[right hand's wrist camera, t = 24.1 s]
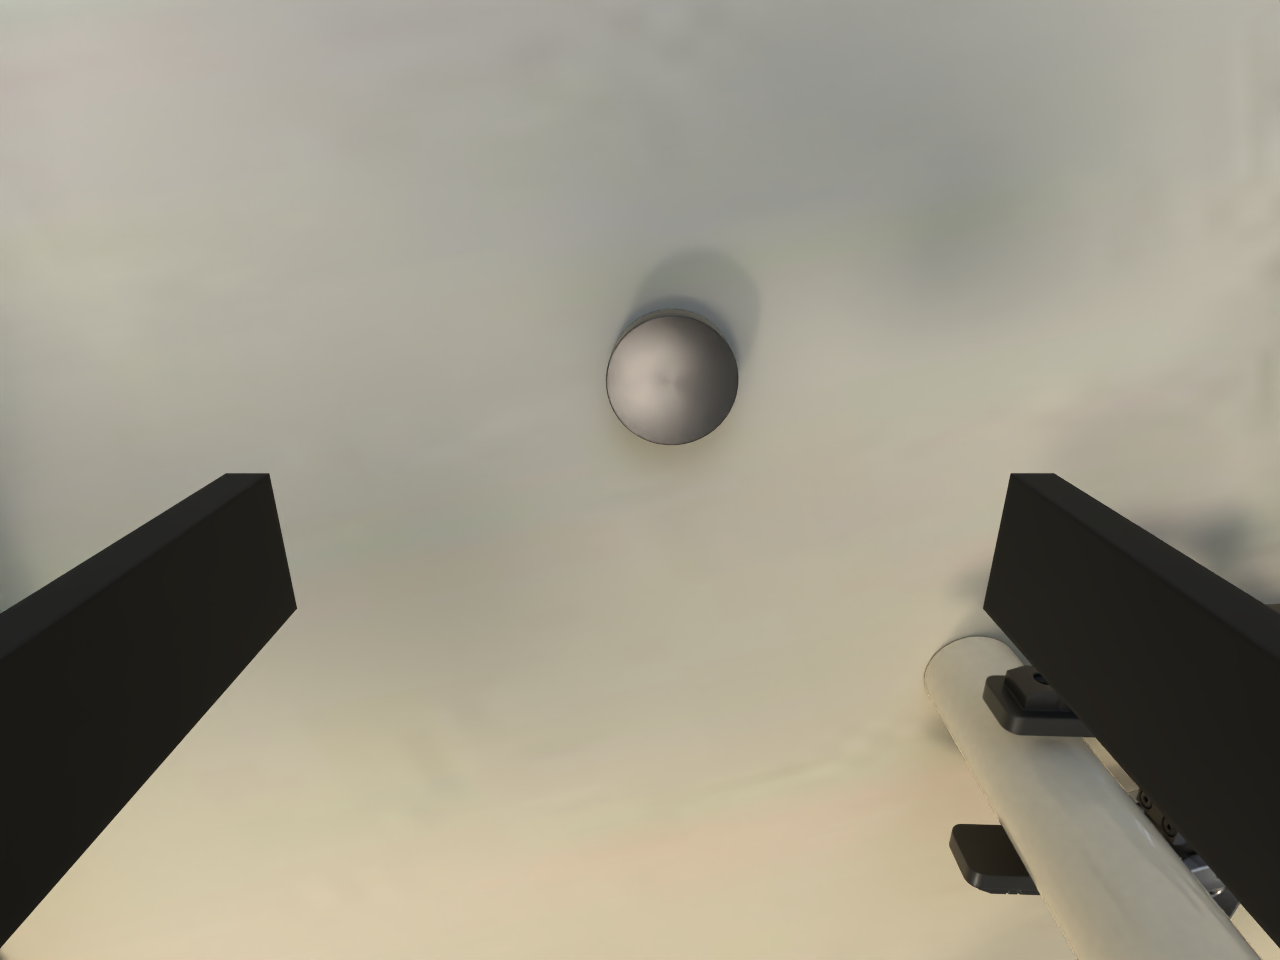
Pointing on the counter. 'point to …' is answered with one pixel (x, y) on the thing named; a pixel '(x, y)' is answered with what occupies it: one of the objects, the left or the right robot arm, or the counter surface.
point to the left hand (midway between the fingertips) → (976, 782)
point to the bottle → (1078, 829)
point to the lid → (671, 377)
